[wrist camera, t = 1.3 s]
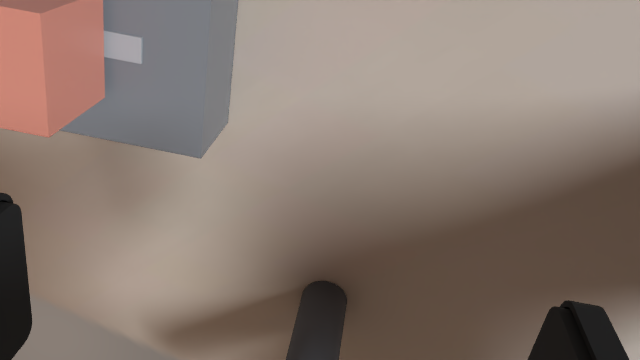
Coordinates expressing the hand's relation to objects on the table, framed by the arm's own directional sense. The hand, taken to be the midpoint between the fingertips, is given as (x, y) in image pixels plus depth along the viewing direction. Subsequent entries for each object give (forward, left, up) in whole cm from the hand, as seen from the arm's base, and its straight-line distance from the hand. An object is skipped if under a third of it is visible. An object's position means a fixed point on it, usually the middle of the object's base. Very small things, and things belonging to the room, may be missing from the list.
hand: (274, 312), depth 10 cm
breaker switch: (+10, 0, -12) cm, 16 cm away
